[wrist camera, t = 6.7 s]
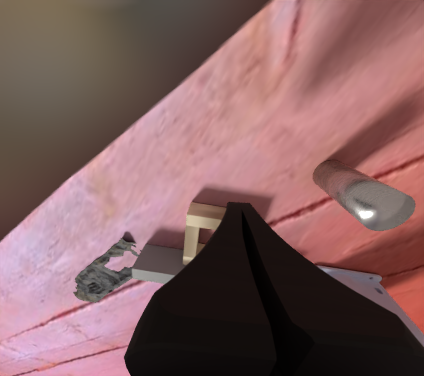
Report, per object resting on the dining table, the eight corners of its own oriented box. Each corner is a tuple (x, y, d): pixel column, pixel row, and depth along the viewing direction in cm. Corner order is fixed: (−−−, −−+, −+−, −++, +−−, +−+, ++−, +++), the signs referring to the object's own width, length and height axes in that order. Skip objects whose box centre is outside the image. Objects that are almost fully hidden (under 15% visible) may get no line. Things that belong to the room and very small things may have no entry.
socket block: (256, 212, 20) (260, 226, 17) (241, 257, 23) (243, 273, 21) (191, 202, 20) (186, 214, 17) (186, 249, 23) (182, 264, 21)
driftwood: (95, 300, 33) (87, 312, 31) (63, 283, 31) (53, 294, 29) (162, 256, 26) (157, 268, 24) (127, 230, 24) (119, 241, 22)
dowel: (349, 162, 16) (427, 197, 10) (335, 188, 18) (395, 233, 11) (320, 157, 16) (379, 189, 10) (308, 184, 18) (353, 227, 11)
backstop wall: (282, 265, 24) (292, 293, 20) (277, 274, 24) (286, 302, 21) (145, 244, 24) (131, 268, 20) (146, 253, 24) (132, 278, 21)
